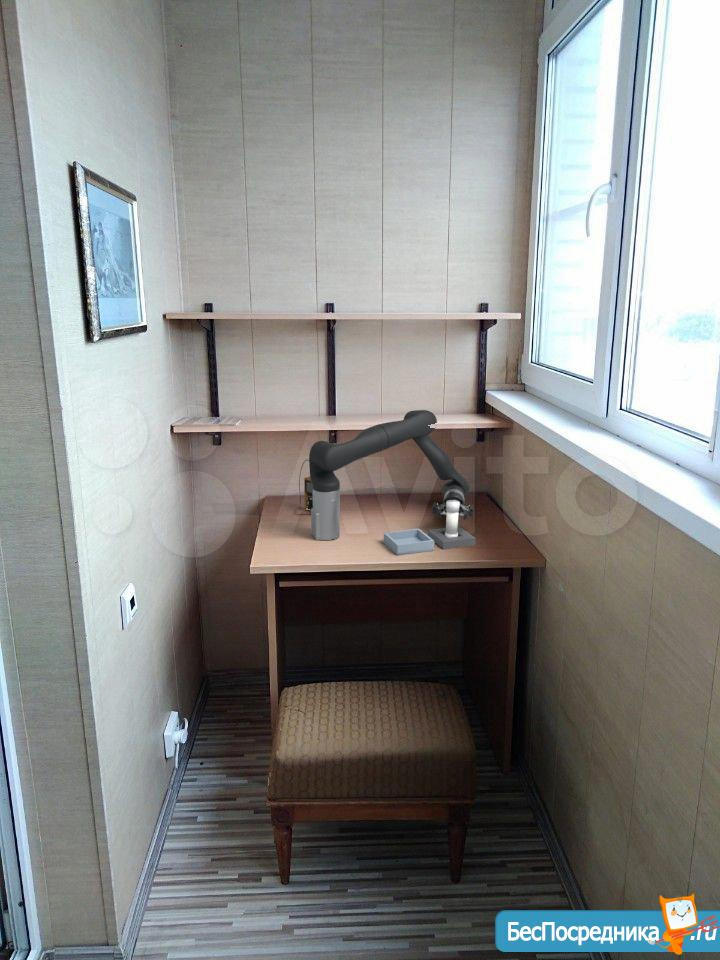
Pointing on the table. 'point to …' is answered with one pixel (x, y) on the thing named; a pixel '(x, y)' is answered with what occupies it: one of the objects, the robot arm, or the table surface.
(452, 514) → the fuse
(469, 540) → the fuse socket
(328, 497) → the robot arm
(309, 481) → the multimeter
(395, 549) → the parts tray
